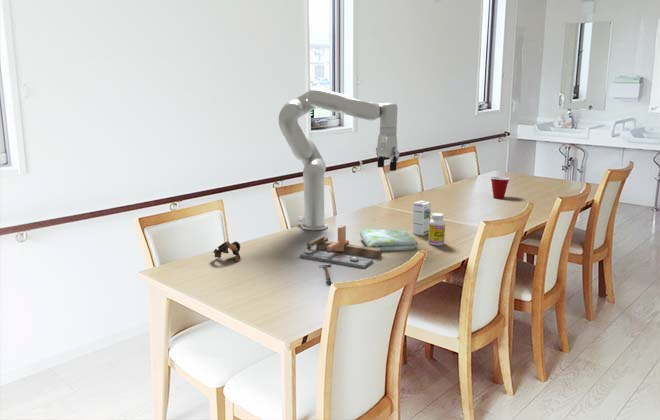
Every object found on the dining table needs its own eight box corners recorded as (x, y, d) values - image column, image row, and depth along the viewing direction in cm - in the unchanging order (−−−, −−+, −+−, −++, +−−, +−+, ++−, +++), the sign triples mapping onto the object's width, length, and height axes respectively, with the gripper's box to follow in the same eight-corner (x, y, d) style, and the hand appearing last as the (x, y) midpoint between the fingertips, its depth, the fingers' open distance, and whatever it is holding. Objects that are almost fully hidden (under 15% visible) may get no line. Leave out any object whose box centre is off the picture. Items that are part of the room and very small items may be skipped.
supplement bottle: (432, 246, 243) (433, 216, 240) (425, 242, 249) (426, 213, 246) (447, 245, 245) (448, 215, 241) (440, 240, 251) (441, 212, 248)
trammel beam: (304, 255, 232) (303, 243, 231) (320, 246, 244) (320, 234, 242) (367, 265, 219) (368, 253, 218) (382, 255, 231) (382, 243, 230)
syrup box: (423, 235, 258) (424, 204, 255) (412, 233, 262) (413, 202, 259) (430, 233, 262) (431, 202, 259) (419, 230, 266) (420, 200, 263)
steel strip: (299, 257, 229) (299, 252, 228) (309, 252, 236) (309, 246, 235) (364, 268, 216) (364, 262, 216) (372, 262, 223) (373, 256, 223)
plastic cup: (510, 197, 335) (512, 176, 332) (505, 200, 326) (506, 179, 323) (492, 195, 341) (493, 175, 338) (486, 198, 332) (487, 177, 329)
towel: (418, 250, 239) (419, 238, 238) (368, 252, 236) (368, 240, 235) (406, 237, 257) (406, 226, 256) (359, 240, 253) (359, 228, 252)
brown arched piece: (234, 266, 221) (222, 248, 219) (218, 272, 226) (206, 255, 224) (250, 250, 230) (239, 233, 229) (234, 256, 236) (223, 240, 234)
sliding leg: (323, 256, 228) (323, 233, 225) (340, 246, 240) (340, 224, 238) (332, 257, 226) (332, 234, 223) (349, 247, 238) (349, 225, 236)
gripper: (370, 129, 265) (369, 166, 269) (392, 133, 250) (390, 172, 254) (384, 128, 268) (382, 165, 272) (406, 132, 254) (404, 171, 258)
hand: (386, 168), depth 263 cm, fingers open, 9 cm apart
